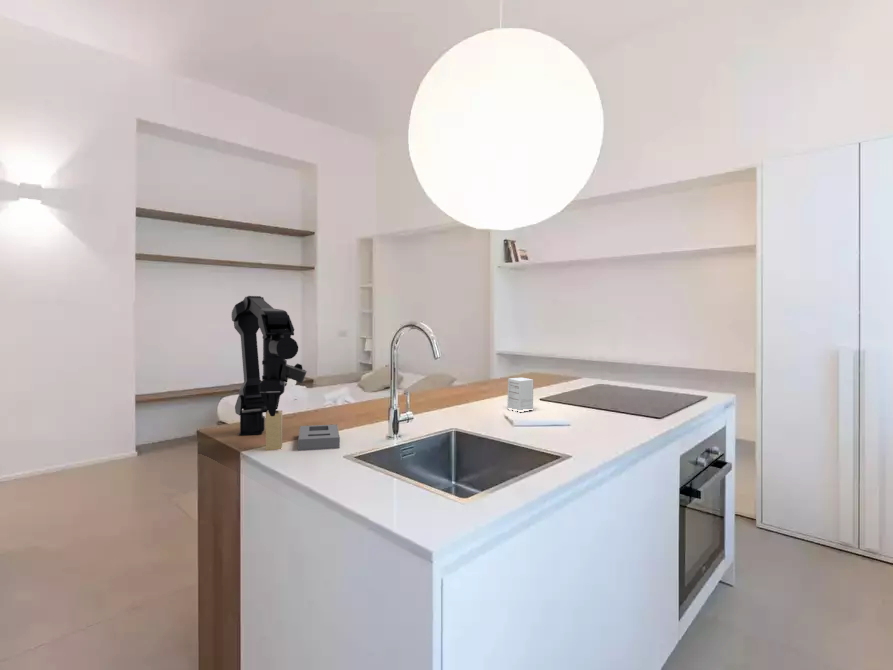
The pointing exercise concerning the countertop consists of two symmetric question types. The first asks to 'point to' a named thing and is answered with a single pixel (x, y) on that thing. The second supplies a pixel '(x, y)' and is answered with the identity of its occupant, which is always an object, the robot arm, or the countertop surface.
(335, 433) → the socket block
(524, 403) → the supplement box
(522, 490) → the countertop surface
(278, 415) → the brass peg
